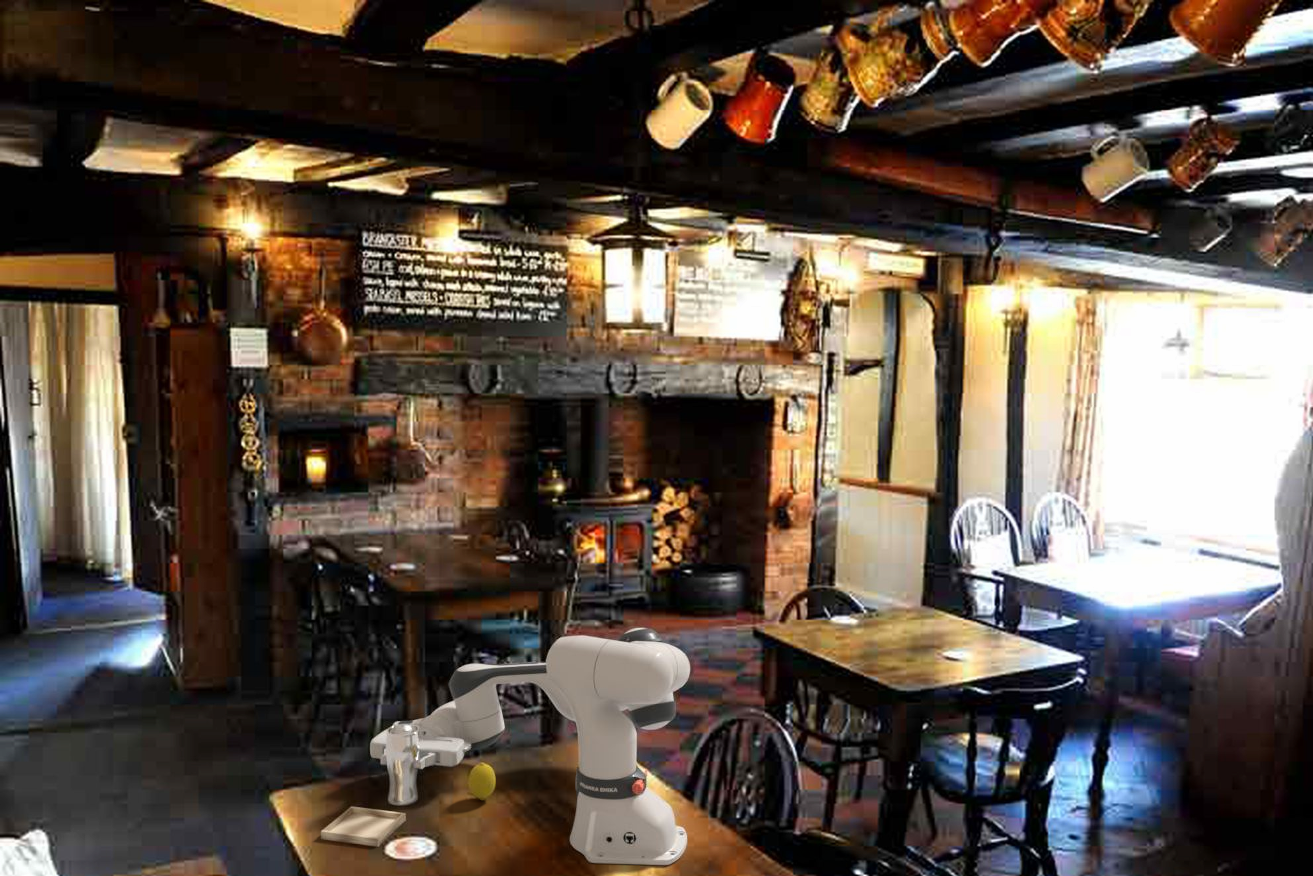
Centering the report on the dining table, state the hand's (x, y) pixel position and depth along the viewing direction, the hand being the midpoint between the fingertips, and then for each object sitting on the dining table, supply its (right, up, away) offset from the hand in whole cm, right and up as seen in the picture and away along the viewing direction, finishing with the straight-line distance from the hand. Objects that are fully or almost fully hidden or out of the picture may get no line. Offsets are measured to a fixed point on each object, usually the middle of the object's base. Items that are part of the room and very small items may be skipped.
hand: (400, 763), depth 204 cm
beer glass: (0, -8, +1) cm, 8 cm away
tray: (-4, -9, -12) cm, 15 cm away
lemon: (+17, -8, +2) cm, 19 cm away
